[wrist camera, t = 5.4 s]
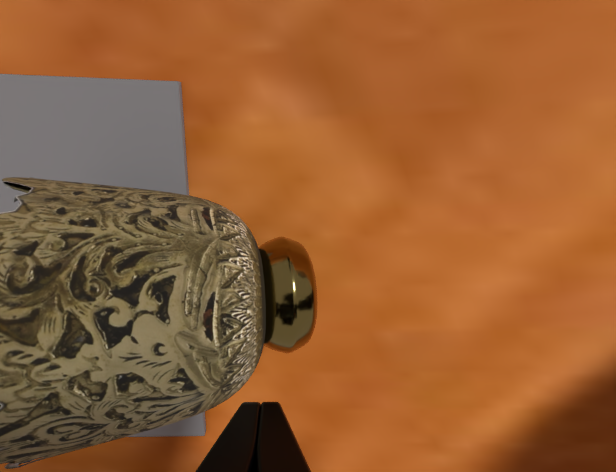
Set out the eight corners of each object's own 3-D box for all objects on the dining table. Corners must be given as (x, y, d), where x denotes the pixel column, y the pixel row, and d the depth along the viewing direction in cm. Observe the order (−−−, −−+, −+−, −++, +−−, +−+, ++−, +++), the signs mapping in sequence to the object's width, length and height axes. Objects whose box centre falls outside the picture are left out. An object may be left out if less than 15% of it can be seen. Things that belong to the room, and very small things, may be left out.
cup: (281, 292, 17) (92, 306, 15) (296, 142, 13) (35, 134, 11) (320, 463, 11) (18, 522, 9) (372, 290, 7) (-171, 332, 5)
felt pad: (181, 82, 12) (178, 81, 12) (206, 430, 17) (204, 435, 16) (-141, 68, 11) (-152, 67, 11) (-20, 433, 16) (-25, 439, 16)
